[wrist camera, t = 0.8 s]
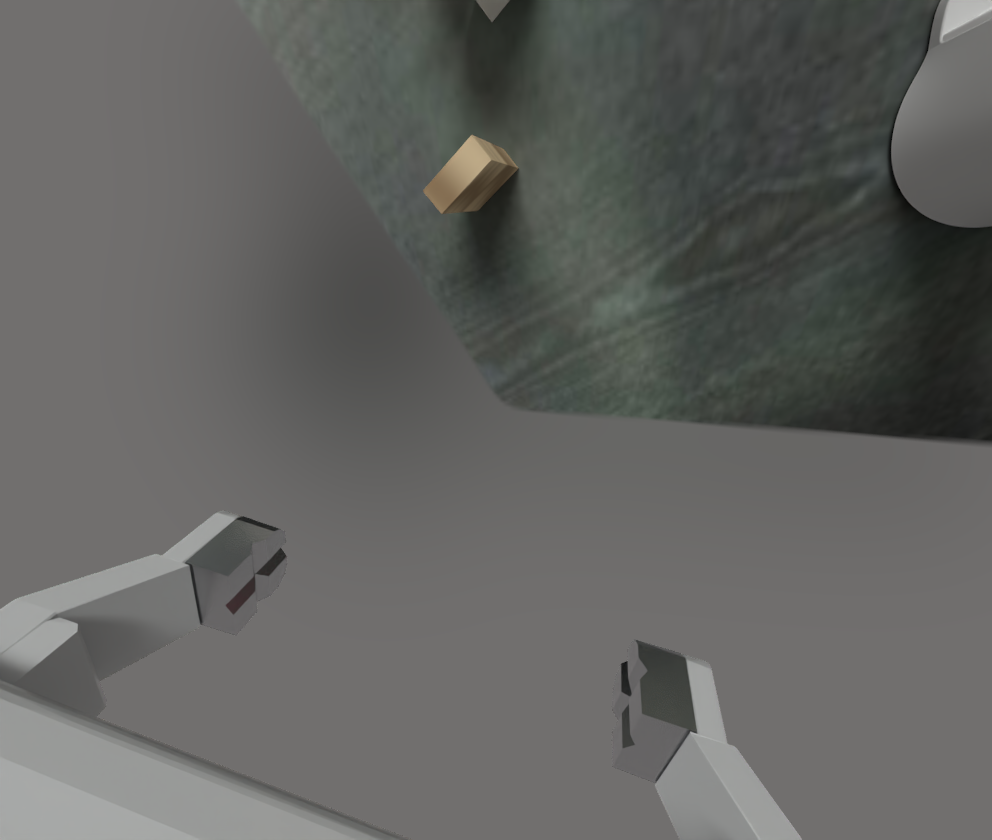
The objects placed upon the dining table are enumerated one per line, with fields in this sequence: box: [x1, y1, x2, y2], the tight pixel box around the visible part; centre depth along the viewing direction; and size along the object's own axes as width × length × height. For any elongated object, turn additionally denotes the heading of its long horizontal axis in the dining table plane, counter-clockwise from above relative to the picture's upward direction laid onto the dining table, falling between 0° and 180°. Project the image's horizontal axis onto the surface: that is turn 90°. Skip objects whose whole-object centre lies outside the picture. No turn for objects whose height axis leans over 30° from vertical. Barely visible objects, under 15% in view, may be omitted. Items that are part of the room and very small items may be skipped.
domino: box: [423, 135, 519, 214], centre depth 36 cm, size 5×2×10 cm, turn 132°
